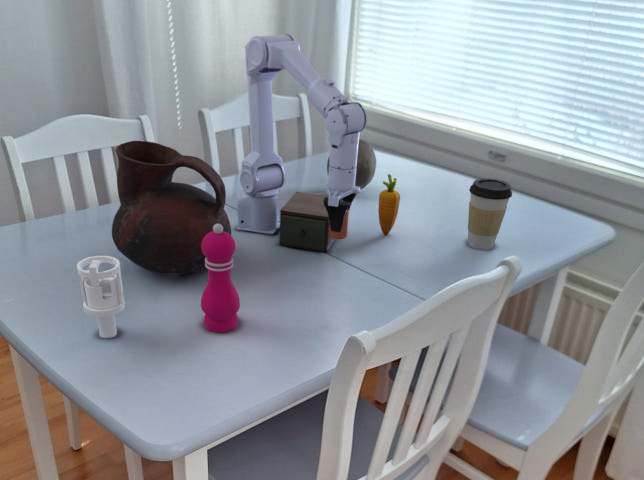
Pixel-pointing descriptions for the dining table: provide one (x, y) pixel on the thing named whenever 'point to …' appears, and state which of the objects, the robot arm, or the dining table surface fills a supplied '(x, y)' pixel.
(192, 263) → the jug
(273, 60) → the robot arm
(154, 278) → the dining table surface
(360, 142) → the cantaloupe
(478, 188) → the coffee cup
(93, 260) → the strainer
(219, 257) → the pepper mill
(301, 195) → the cabinet
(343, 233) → the orange jar
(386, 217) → the carrot
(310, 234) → the drawer
